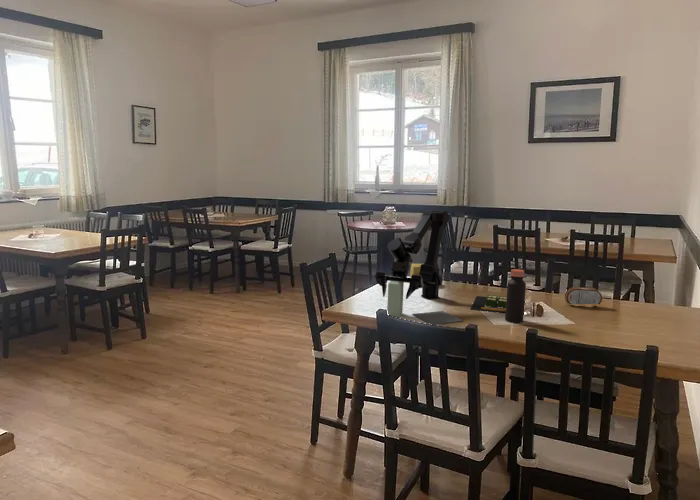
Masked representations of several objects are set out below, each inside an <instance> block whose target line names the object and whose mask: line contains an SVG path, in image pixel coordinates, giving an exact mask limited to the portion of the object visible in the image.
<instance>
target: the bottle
mask: <svg viewBox="0 0 700 500" xmlns="http://www.w3.org/2000/svg"><path fill="white" fill-rule="evenodd" d="M510 277H511V278H510V279H509V280H508V281H507V286H506V297H507V298H506V309H505V310H506V312H505V313H504V319H505V321H506V322H508V323H512V322H513V323H514V324H520V322H521V323H523V322H524V316H523V315H524V303H525V301H526V290H527V289H526V288H527V287H526V285H527V283H526V282H525V280H524V277H525V270H524V269H518V268H513V269H512V268H511V270H510Z"/></svg>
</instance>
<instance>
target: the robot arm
mask: <svg viewBox="0 0 700 500" xmlns="http://www.w3.org/2000/svg"><path fill="white" fill-rule="evenodd" d="M449 221H450V214H449V213H448V211H446V210H437V209H436V210H435V209H433V210H432V211H424V212H423V213H422V216H421V219H420V220H419V221H418V223H417V224H416V226H415V228H414V229H413V231H412V232H411V233H410V234H408V235H406V236H405V237H404V238H403V240H402V239H401V237H395V238H394V239H392V240H391V241H389V242H388V243H387V246H386V247H387V249H388V251H389V252H390V254H391V255H392V257H393V258H394V259H396V260H395V261H391V266H390V270H391V275H387V272H386V271H379V270H378V271H377V272H375V274H374V277H375V281H376V284H377V285H379V286H381V289H382V297H385V296H386V292H387V289H388V287H387V286H388V284H387V283H388V281H389V282H391V281H397V282H404V283H407V284H409V286H408V288H407V292H406V295H405V299H406V300H408V299H409V298H410V297H411V295H412V294H413V293H414V292H415V291H416V290H419V289H422V291H421V295H420V297H422V298H424V299H425V300H426V299H427V300H435V299H437V300H439V299H441V297H440V296H439V291H440V289H439V288H440V287H441V286H442V285H443V278H442V277H441V274H440V267H439V263H438V259H439V253H440V247H441V241H442V236H443V231H444V230H445V229H446V228H447V226H448V223H449ZM429 228H430V230H431V231H430V236H429V242H428V247H427V253H426V260H425V261H424V263H420V264H421V268H420V272H419V275H413V274H412V276H411V278H410V277H408V274H409V270H410V268H411V266H410V265H411V263H413V258H412V254H413V255H418V253H419V252H420V250H421V248H422V240H423V238H424V237H425V235H426V233H427V232H428V230H429Z"/></svg>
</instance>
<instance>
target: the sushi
mask: <svg viewBox="0 0 700 500" xmlns="http://www.w3.org/2000/svg"><path fill="white" fill-rule="evenodd" d="M506 298H507V296H501V295H499V296H498V295H492V294H488V295H487V296H482V295H481V296H480V295H477V296H475V299H474V300H473V302H472V304H471V307H470V309H469V310H471V311H478V312H479V311H480V312H487V311H488V312H489V313H496V312H499V313H498V314H505V312H506V309H505V308H506ZM486 306H491V307H486ZM496 307H503V308H496Z"/></svg>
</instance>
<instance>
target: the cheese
mask: <svg viewBox="0 0 700 500" xmlns="http://www.w3.org/2000/svg"><path fill="white" fill-rule="evenodd" d="M421 264H422V263H411V264H410V265H411V266H410V269H409V270H410V272H409V273H410V275H409V276H410V277H409V278H411V276H412V274H413V275H419V272H420V268H421Z"/></svg>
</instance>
